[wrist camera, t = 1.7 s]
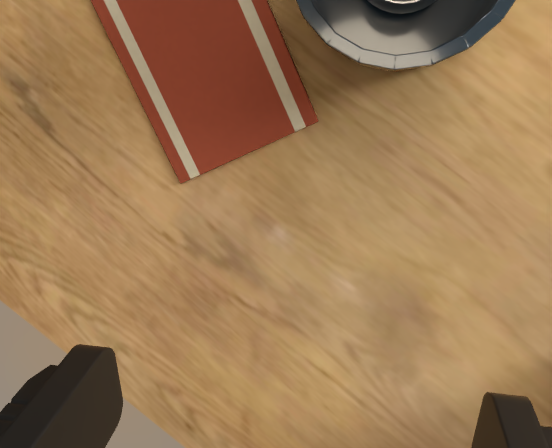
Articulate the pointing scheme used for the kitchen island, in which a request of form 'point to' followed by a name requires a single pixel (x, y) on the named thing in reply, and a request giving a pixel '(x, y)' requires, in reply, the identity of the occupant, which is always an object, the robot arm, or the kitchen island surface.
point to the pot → (402, 30)
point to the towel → (208, 76)
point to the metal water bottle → (401, 5)
